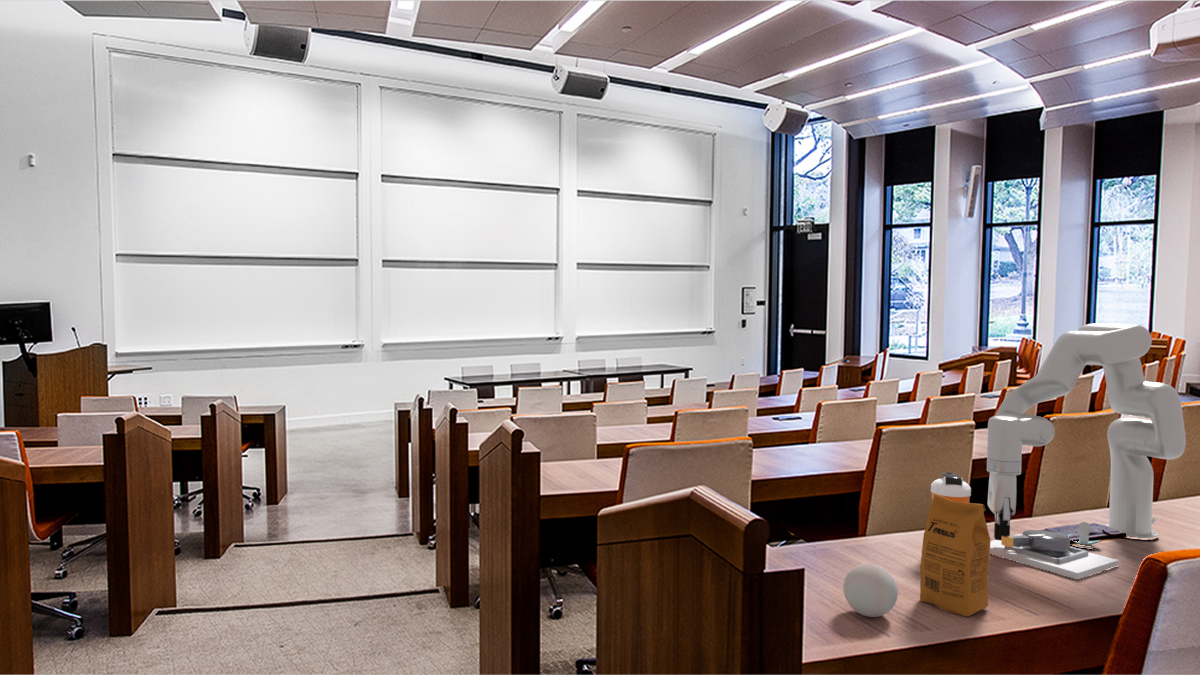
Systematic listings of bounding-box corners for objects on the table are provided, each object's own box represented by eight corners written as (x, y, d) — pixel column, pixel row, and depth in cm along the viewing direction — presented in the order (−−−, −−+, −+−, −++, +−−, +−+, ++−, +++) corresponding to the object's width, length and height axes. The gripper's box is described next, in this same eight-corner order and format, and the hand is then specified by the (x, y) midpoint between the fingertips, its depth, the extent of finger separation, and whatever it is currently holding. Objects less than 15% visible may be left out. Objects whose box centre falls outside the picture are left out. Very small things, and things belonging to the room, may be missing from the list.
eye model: (835, 605, 155) (836, 556, 155) (883, 604, 156) (884, 556, 155) (854, 626, 145) (855, 574, 145) (906, 625, 146) (907, 573, 145)
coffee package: (941, 591, 164) (943, 489, 163) (996, 611, 153) (999, 502, 152) (910, 599, 159) (912, 494, 158) (965, 620, 148) (968, 508, 147)
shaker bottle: (961, 550, 191) (963, 471, 191) (975, 562, 182) (977, 479, 182) (924, 549, 192) (926, 470, 191) (936, 561, 183) (938, 478, 183)
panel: (1018, 540, 201) (1018, 530, 201) (1118, 566, 180) (1118, 555, 180) (977, 550, 192) (977, 540, 191) (1077, 580, 171) (1078, 568, 171)
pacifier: (1093, 553, 191) (1102, 548, 195) (1093, 528, 191) (1103, 524, 195) (1061, 545, 197) (1071, 541, 201) (1061, 522, 197) (1071, 517, 201)
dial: (1050, 545, 191) (1050, 528, 191) (1080, 557, 182) (1080, 540, 181) (990, 547, 189) (991, 530, 189) (1017, 560, 179) (1018, 542, 179)
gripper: (982, 459, 197) (980, 530, 198) (992, 471, 183) (990, 546, 184) (1014, 461, 195) (1012, 532, 196) (1027, 473, 181) (1025, 550, 181)
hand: (1001, 539), depth 190 cm, fingers closed
